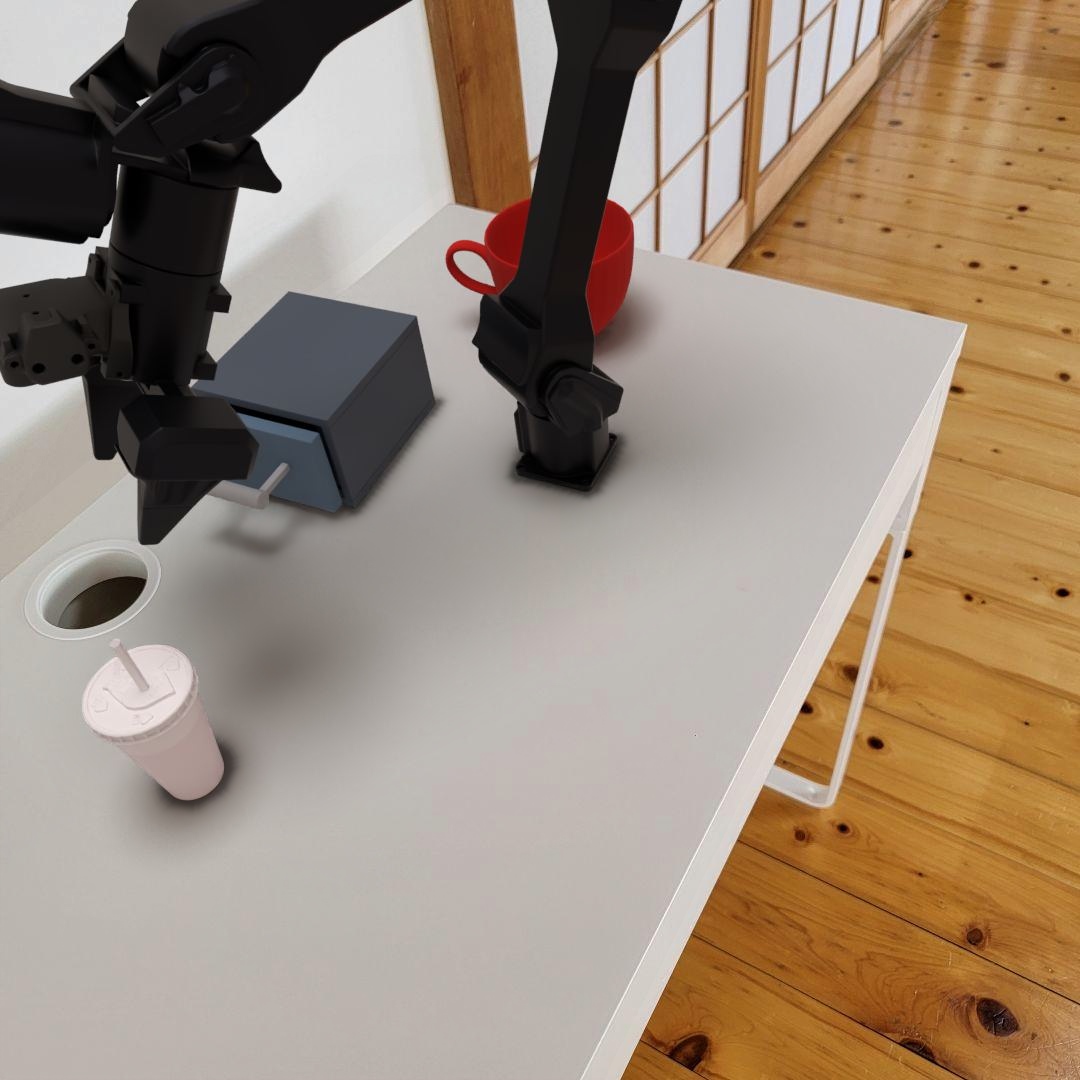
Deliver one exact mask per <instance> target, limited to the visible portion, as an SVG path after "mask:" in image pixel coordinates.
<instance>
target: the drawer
mask: <svg viewBox="0 0 1080 1080" xmlns="http://www.w3.org/2000/svg"><path fill="white" fill-rule="evenodd" d="M230 406H231V407H232V408H233V409H234V410H235V412H236V413H237V414H238V415H239V417H240V418H241V420H242V421H243V422H244V424H245V425H246V426H247V428H248V429H249V431H250V432H251V433H252V435H253V436H254V437H255V439H256V440H257V442H258V443H259V444H260V445H259V450H258V454H257V458H256V462H255V466H254V470H253V474H252V475H251V476H250V477H249V478H248V479H247V480H222V481H221V482H220V483H219V484H218V485H217V486H216V487H214V488H213V489H212V490H211V491H210V492H209V493H207V494H206V495H205V496H209V497H214V498H217V499H221V500H223V501H224V500H225V501H228V502H231V503H235V504H239V505H241V506H245V507H249V508H252V509H255V510H259V511H262V510H263V511H264V510H265V509H266V508H267V507H268V505H269V501H270V496H272V497H273V496H274V497H277V498H281V499H284V500H288V501H291V502H295V503H297V504H298V503H299V504H303V505H306V506H310V507H313V508H317V509H320V510H324V511H326V512H327V511H328V512H331V513H336V512H337V511H338V509H339V508H340V507H341V505H342V500H341V497H340V494H339V491H338V488H337V485H339V486H341V485H340V482H339V479H338V476H337V473H336V470H335V467H334V464H333V461H332V458H331V455H330V452H329V449H328V446H327V443H326V440H325V437H324V434H323V431H322V428H321V426H317V425H313V424H309V423H305V422H301V421H297V420H293V419H288V418H284V417H280V416H276V415H272V414H268V413H264V412H260V411H256V410H252V409H248V408H244V407H240V406H235V405H231V404H230Z"/></svg>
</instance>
